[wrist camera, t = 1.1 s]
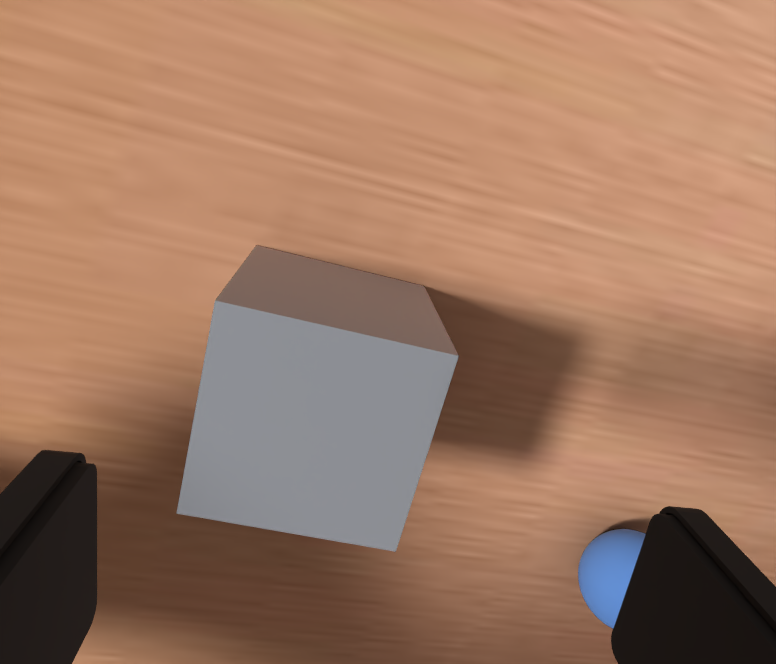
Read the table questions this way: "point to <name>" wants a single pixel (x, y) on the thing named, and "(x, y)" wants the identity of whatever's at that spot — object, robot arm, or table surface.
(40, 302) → the table surface
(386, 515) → the gray foam cube
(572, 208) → the table surface
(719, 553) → the robot arm
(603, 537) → the ball
